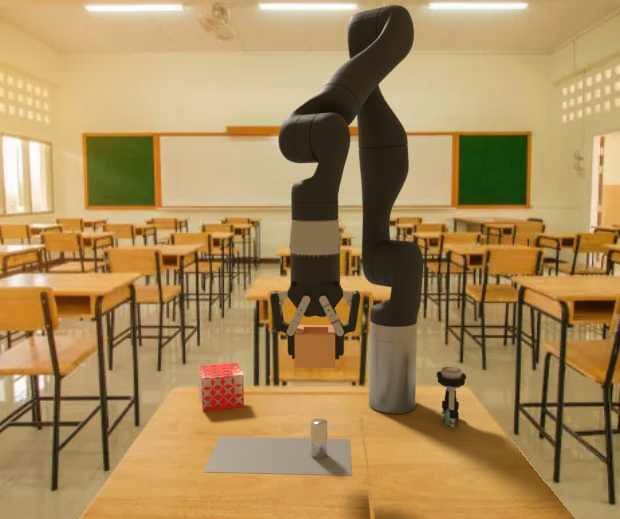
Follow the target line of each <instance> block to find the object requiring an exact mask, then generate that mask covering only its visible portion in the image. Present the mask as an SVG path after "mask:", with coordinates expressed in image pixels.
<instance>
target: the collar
mask: <svg viewBox="0 0 620 519" xmlns="http://www.w3.org/2000/svg"><path fill="white" fill-rule="evenodd" d="M335 333H336V332H335V330H334V328H333V326H332V324H327V325H326V324H324V325H323V324H317V325H316V324H299V325H298V327H297V329H296V332H295V359H294V368H295V369H296V368H299V369H302V368H307V369H335V368H336V359H335Z"/></svg>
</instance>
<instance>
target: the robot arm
mask: <svg viewBox="0 0 620 519" xmlns="http://www.w3.org/2000/svg"><path fill="white" fill-rule="evenodd" d="M414 40H415V28H414V23H413V19H412V16H411V14H410V12H409V11H408V9H407V8H405V6H402V5H396V4H394V5H387V6H382V7H377V8H372V9H368V10H363V11H359V12H357V13H354V14H353V15H352V16H350V19H349V21H348V26H347V47H348V48H347V49H348V56H349V60H347V61H345V62H344V63H342V64H341V65H340V66H339V67H337V68H336V69H335V70H334V71H333V72H332V73H331V74H330V75H329V76H328V77H327V79H326V81H324V83H323V84H322V86H321V87H320V89H319V90H318V91H317V93H316V94H315V95H313V96H311V97H310V98H308V99H307V100H306V101H305V102H303V103H302V104H300V105H299V106H298V107H296V108H295V109H294V110H293V111H292V112H291V113H290V114H289V115H288V116H287V117H285V120H283V123H282V124H281V127H280V130H279V132H278V148H279V151H280V153H281V155H282V156H283V157H284V158H285V159H286V160H287V161H289V162H291V163H295V164H315V163H316V164H317V166H316V169H315V171H314V173H313V175H312V176H310V177H308V178H304V179H301V180H298V181H296V182H294V183H293V185H292V188H291V192H290V193H291V195H290V196H291V198H290V200H291V209H290V210H291V223H290V224H291V225H290V234H289V246H288V248H289V252H290V254H289V257H290V258H289V261H290V262H289V263H290V264H289V266H290V268H289V270H290V272H289V273H290V285H289V288H288V289H287V290H282V291H279V290H273V291H272V292H271V294H270V296H269V299H270V307H271V312H272V313H271V314H272V317H273V324H274V329H275V332H279V333H283V334H285V335H286V338H287V353H288V356H291V359H292V360H295V332H296V329H297V327H298V325H300V322H301V321H302V318H303V317H305V318H311V317H318V318H326V317H327V319H328V321H329V322H330V325H332V326H333V328H334V330H335V332H336V333H335V360H340V357H341V356H344V354H345V335H346V334H349V333H353V332H356V329H357V323H358V317H359V309H360V303H361V293H360V291H359V290H354V291H347V290H344V289H343V288H342V286H341V232H340V226H339V225H340V224H339V192H340V186H341V182H342V179H343V173H344V170H345V165H346V164H347V163H346V162H347V159H348V155H349V151H350V148H351V132H350V127H349V126H350V125H351V124H352V123H353V121H355V119H356V120H357V121H356V122H357V138H358V139H357V143H358V161H359V171H360V173H359V174H360V184H361V202H362V204H361V206H362V208H361V209H362V224H361V225H362V226H361V227H362V228H361V229H362V230H361V231H362V232H361V266H362V271H363V274H364V277H365V279H366V280H367V282H368V283H370V284H372V285H375V286H380V287H381V286H382V287H386V288H387V287H389V288H391V289H390V295H389V299H388V300H387V301H384V302H380V303H376V304H374V305H372V307H371V308H370V313H369V323H370V324H369V369H368V371H369V373H368V375H369V377H368V378H369V380H368V381H369V384H368V405H369V407H370V408H372V409H373V410H376V411H377V412H378V411H379V412H380V413H381V412H382V413H384V414H385V413H387V414H404V413H409V412H411V411H413V410H414V409H415V408H416V389H417V387H416V384H417V355H418V354H417V353H418V352H417V350H418V349H417V348H418V346H417V345H418V344H417V343H418V316H419V315H418V314H419V311H420V307H421V303H422V292H423V291H422V290H423V289H422V288H423V277H424V255H423V251H422V248H420V246H419V245H418V244H417V243H415V242H413V241H408V240H407V241H406V240H398V239H396V240H394V239H391V235H390V233H391V232H390V231H391V230H390V224H391V223H390V221H391V219H390V218H391V214H392V210H393V207H394V205H395V202H396V201H397V199H398V197H399V195H400V193H401V190H402V189H403V187H404V185H405V182H406V180H407V177H408V174H409V169H410V166H409V164H410V162H409V141H408V135H407V131H406V129H405V127H404V125H403V124H402V122H401V121H400V120H399V118H398V116H397V115H396V114H395V112H394V110H393V109H392V108H391V107H390V105H389V103H388V102H387V101H386V98H385V97H384V95H383V93H382V90H381V88H380V85H379V84H380V83H381V82H382V81H383V80H384V79H385V78H386V77H388V75H389V74H390V73H392V71H393V70H394V69H395V68H396V67H397V66H398V65H399V64H401V63H402V61H403V60H404V59H406V58H407V56H408V55H409V53H410V52H411V50H412V48H413V43H414ZM287 298H288V299H289V301H290V302H291V303H292V305H293V306H294V307H295V308H296V310H295V312H294V314H293V317H292V319H291V321H290V323H289V322H285V318H284V313H283V312H284V311H283V307H282V306H284V304H285V302H286V300H287ZM342 299H344V300H345V304H346V305H347V307H350V308H349V312H348V313H349V314H348V319H347V322H345V323H342V321H341V318H340V317H339V314H338V312H337V310H336V307H337V306H338V304H339V303H340V301H342Z"/></svg>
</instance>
